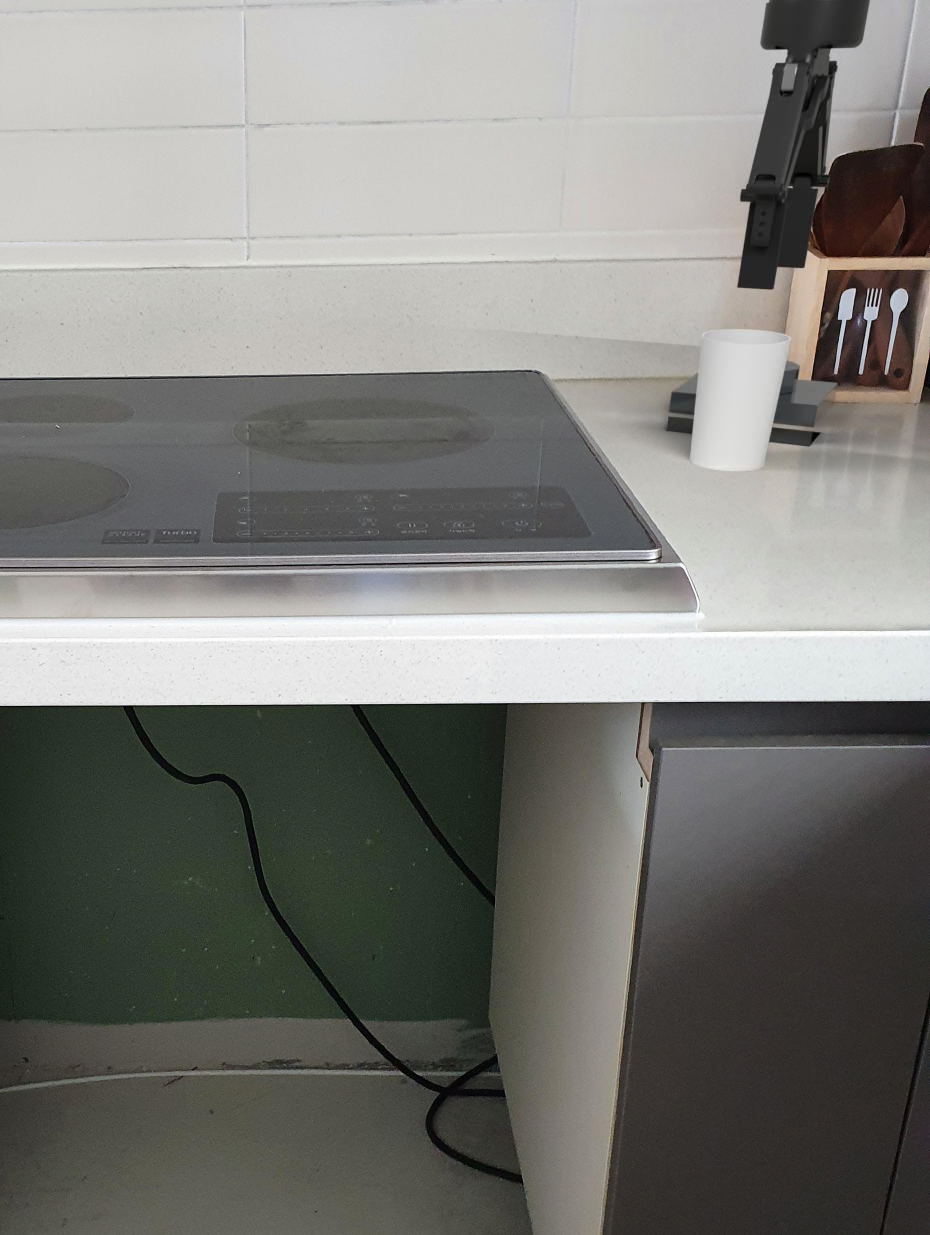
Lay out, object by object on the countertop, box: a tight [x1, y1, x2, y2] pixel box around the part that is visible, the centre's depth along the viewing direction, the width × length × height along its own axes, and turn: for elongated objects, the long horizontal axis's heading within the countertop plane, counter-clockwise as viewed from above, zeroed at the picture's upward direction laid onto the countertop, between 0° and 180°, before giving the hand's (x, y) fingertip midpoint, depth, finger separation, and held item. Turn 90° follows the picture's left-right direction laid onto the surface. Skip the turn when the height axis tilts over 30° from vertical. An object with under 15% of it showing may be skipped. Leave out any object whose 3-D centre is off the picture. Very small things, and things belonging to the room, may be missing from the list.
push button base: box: [665, 360, 839, 447], centre depth 119 cm, size 12×10×6 cm
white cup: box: [689, 328, 792, 472], centre depth 108 cm, size 7×7×10 cm
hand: (772, 277), depth 114 cm, fingers open, 13 cm apart
